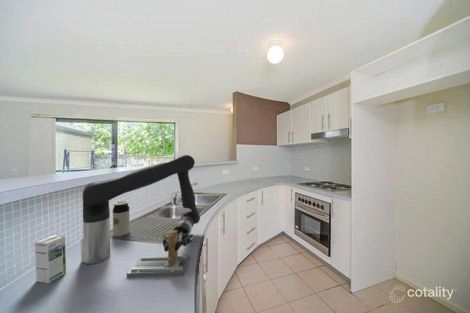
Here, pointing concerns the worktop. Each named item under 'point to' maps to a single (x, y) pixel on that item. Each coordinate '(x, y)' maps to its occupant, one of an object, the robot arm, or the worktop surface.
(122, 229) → the labelled jar
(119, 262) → the worktop surface
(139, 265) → the grey slider track base
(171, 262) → the fader tab
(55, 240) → the syrup box
